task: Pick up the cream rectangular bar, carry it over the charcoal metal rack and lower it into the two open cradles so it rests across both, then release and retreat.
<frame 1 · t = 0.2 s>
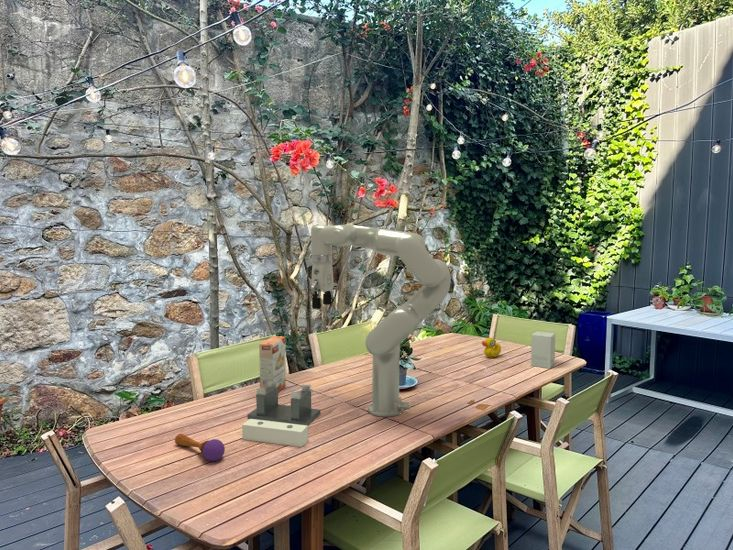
hand: (322, 306, 189), 36 cm above the table, tool pointing down, fingers open, 9 cm apart
duckling: (491, 357, 256), on the table
cracker box: (273, 391, 207), on the table
rack: (284, 416, 181), on the table
supplement box: (542, 365, 243), on the table
purple maraca: (199, 453, 153), on the table
cream rectangular bar: (275, 440, 162), on the table
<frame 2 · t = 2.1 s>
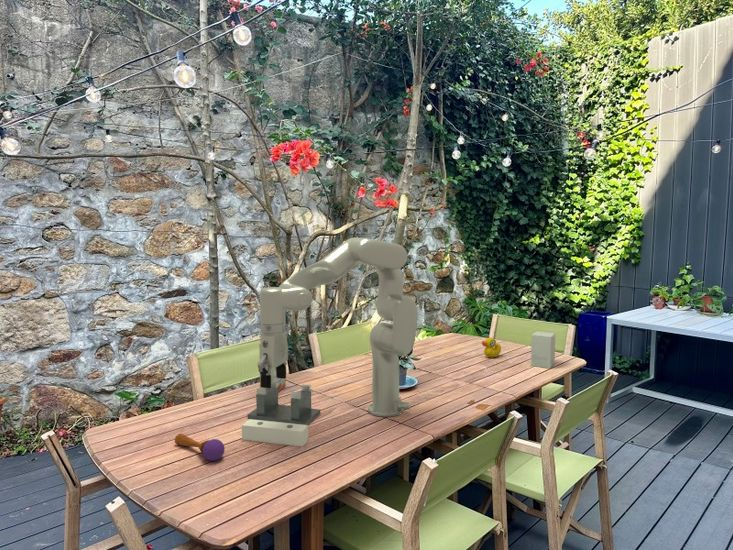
hand: (273, 382, 160), 18 cm above the table, tool pointing down, fingers open, 9 cm apart
nothing on the table moved.
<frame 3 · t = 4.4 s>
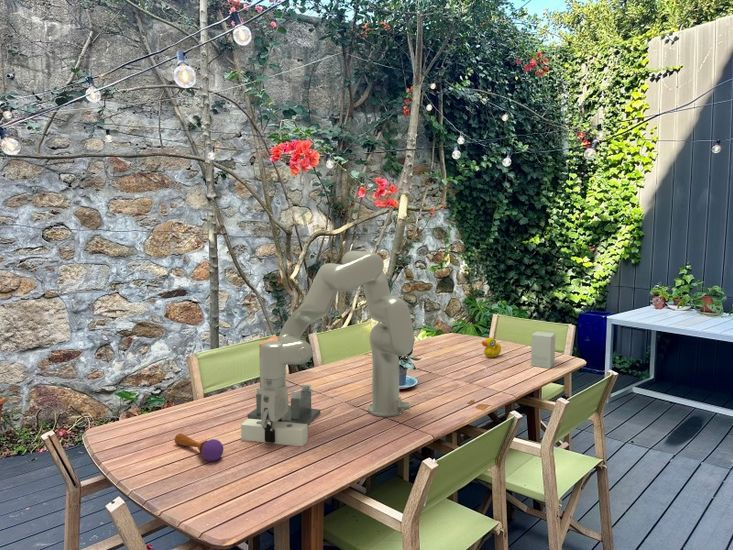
hand: (274, 437, 162), 1 cm above the table, tool pointing down, fingers closed on cream rectangular bar, 5 cm apart
cream rectangular bar: (274, 439, 162), on the table, touching gripper
everything else where it was.
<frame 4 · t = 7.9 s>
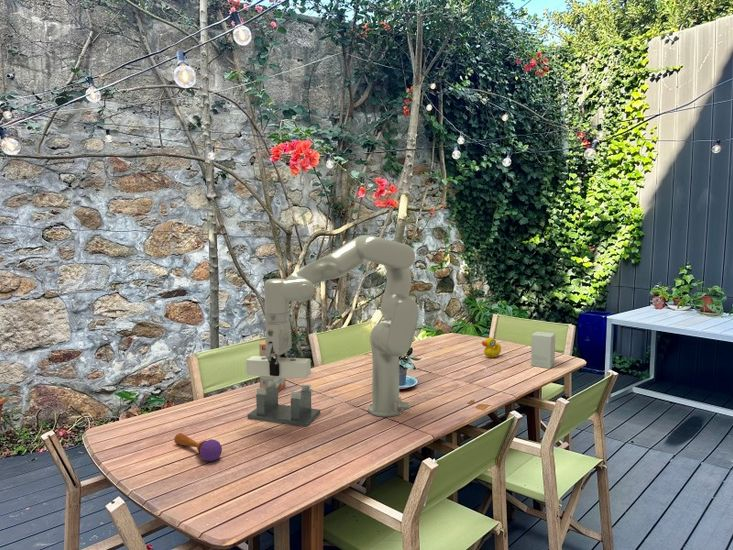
hand: (278, 372, 168), 19 cm above the table, tool pointing down, fingers closed on cream rectangular bar, 5 cm apart
cream rectangular bar: (278, 374, 168), point 18 cm above the table, touching gripper
everything else where it was.
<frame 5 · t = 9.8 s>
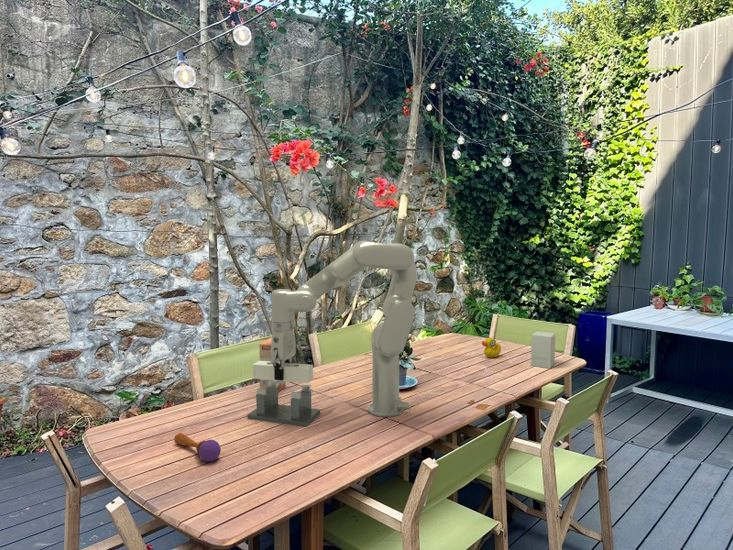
hand: (283, 376, 179), 14 cm above the table, tool pointing down, fingers closed on cream rectangular bar, 5 cm apart
cream rectangular bar: (283, 378, 180), point 13 cm above the table, touching gripper
everything else where it was.
when the fingers open (10 cm above the table, at t = 11.5 s): cream rectangular bar drops 1 cm, resting on rack.
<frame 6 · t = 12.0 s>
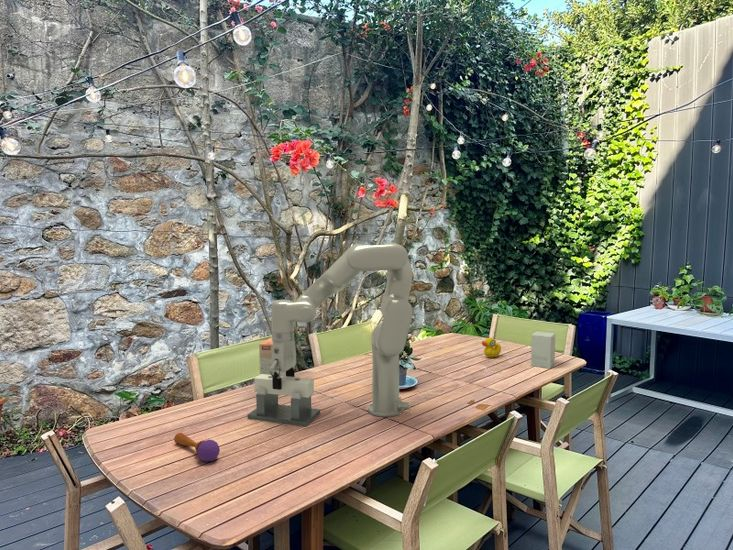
hand: (283, 384, 180), 11 cm above the table, tool pointing down, fingers open, 9 cm apart
cream rectangular bar: (284, 392, 180), point 8 cm above the table, touching rack
everything else where it was.
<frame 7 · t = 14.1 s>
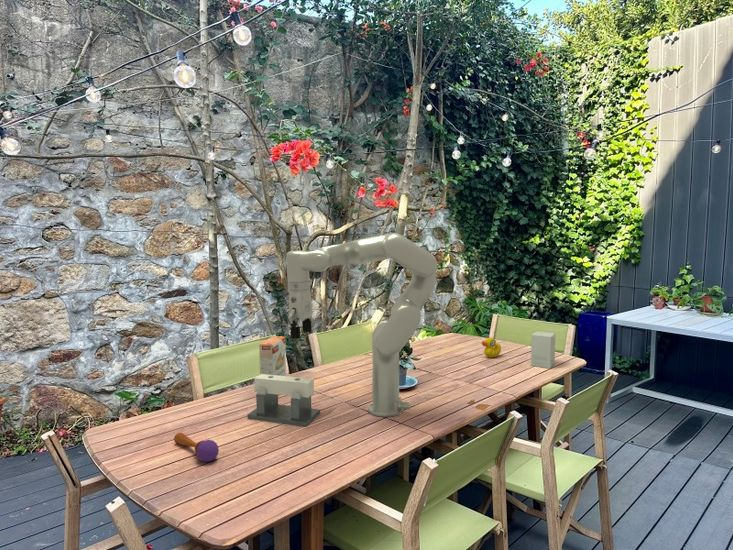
hand: (301, 334, 182), 28 cm above the table, tool pointing down, fingers open, 9 cm apart
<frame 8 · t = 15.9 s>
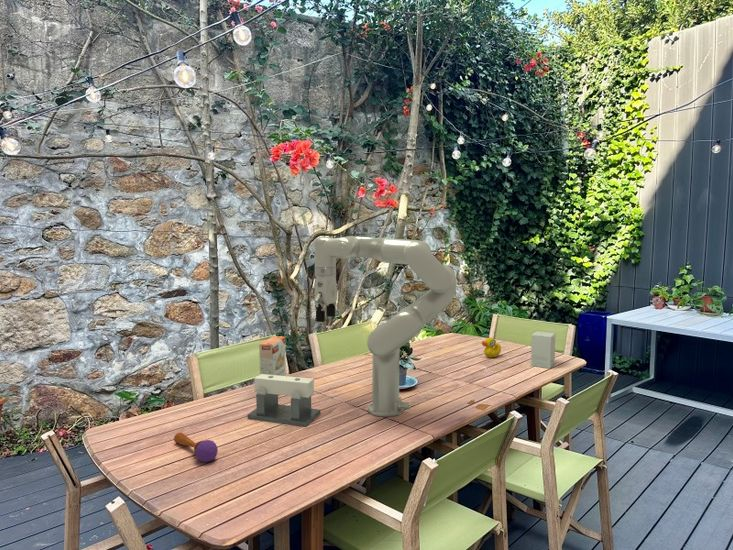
hand: (325, 319, 188), 32 cm above the table, tool pointing down, fingers open, 9 cm apart
at the end: cream rectangular bar 0.1 cm off-centre on the rack, point 8.5 cm above the rack's base; cream rectangular bar touching rack; the gripper is holding nothing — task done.
